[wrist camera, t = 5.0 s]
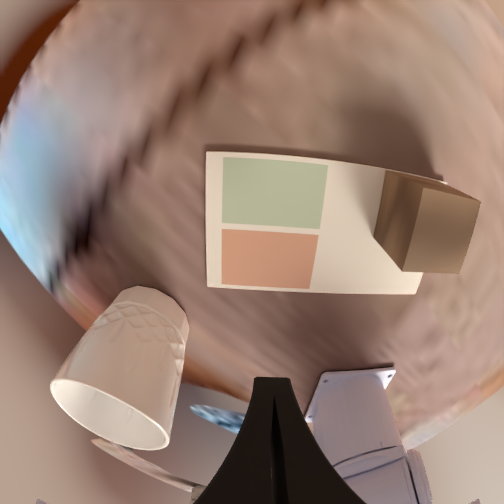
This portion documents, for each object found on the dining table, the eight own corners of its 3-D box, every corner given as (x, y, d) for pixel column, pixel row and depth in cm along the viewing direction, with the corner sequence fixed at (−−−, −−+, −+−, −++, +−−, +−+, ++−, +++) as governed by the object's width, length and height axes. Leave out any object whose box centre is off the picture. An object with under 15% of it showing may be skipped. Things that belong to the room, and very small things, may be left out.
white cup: (92, 300, 20) (34, 386, 11) (153, 261, 18) (86, 367, 10) (150, 360, 23) (118, 450, 14) (216, 336, 21) (197, 447, 12)
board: (413, 291, 19) (415, 294, 19) (208, 283, 19) (207, 286, 19) (444, 181, 15) (447, 182, 15) (207, 151, 15) (206, 151, 15)
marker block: (425, 242, 17) (458, 273, 13) (372, 237, 17) (401, 271, 13) (439, 181, 15) (480, 201, 11) (385, 170, 15) (423, 187, 11)
